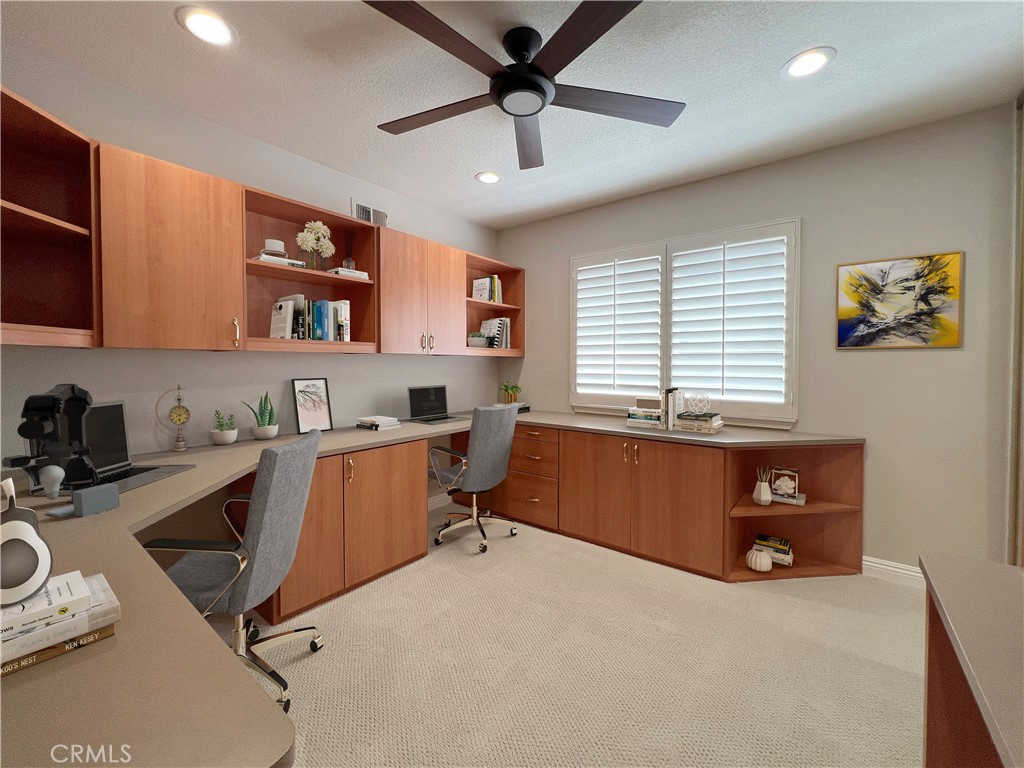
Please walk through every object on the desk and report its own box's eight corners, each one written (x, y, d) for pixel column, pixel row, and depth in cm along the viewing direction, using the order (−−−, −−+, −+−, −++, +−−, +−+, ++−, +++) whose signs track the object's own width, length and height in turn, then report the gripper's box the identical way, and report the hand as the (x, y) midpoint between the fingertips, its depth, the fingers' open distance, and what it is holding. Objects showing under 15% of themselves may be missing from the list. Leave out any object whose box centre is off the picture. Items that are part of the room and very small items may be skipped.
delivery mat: (46, 514, 144) (46, 511, 144) (80, 505, 152) (80, 503, 152) (61, 517, 140) (61, 514, 140) (96, 508, 149) (95, 505, 149)
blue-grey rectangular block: (73, 515, 142) (71, 491, 142) (110, 505, 152) (108, 483, 151) (83, 516, 141) (81, 493, 140) (119, 506, 150) (118, 484, 149)
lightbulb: (48, 503, 132) (45, 468, 132) (33, 502, 134) (30, 467, 133) (71, 497, 138) (69, 463, 138) (57, 496, 140) (54, 463, 139)
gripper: (19, 441, 123) (23, 494, 124) (99, 430, 141) (103, 476, 142) (-2, 439, 127) (3, 490, 128) (79, 428, 144) (83, 474, 145)
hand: (51, 482), depth 136 cm, fingers closed on lightbulb, 6 cm apart
